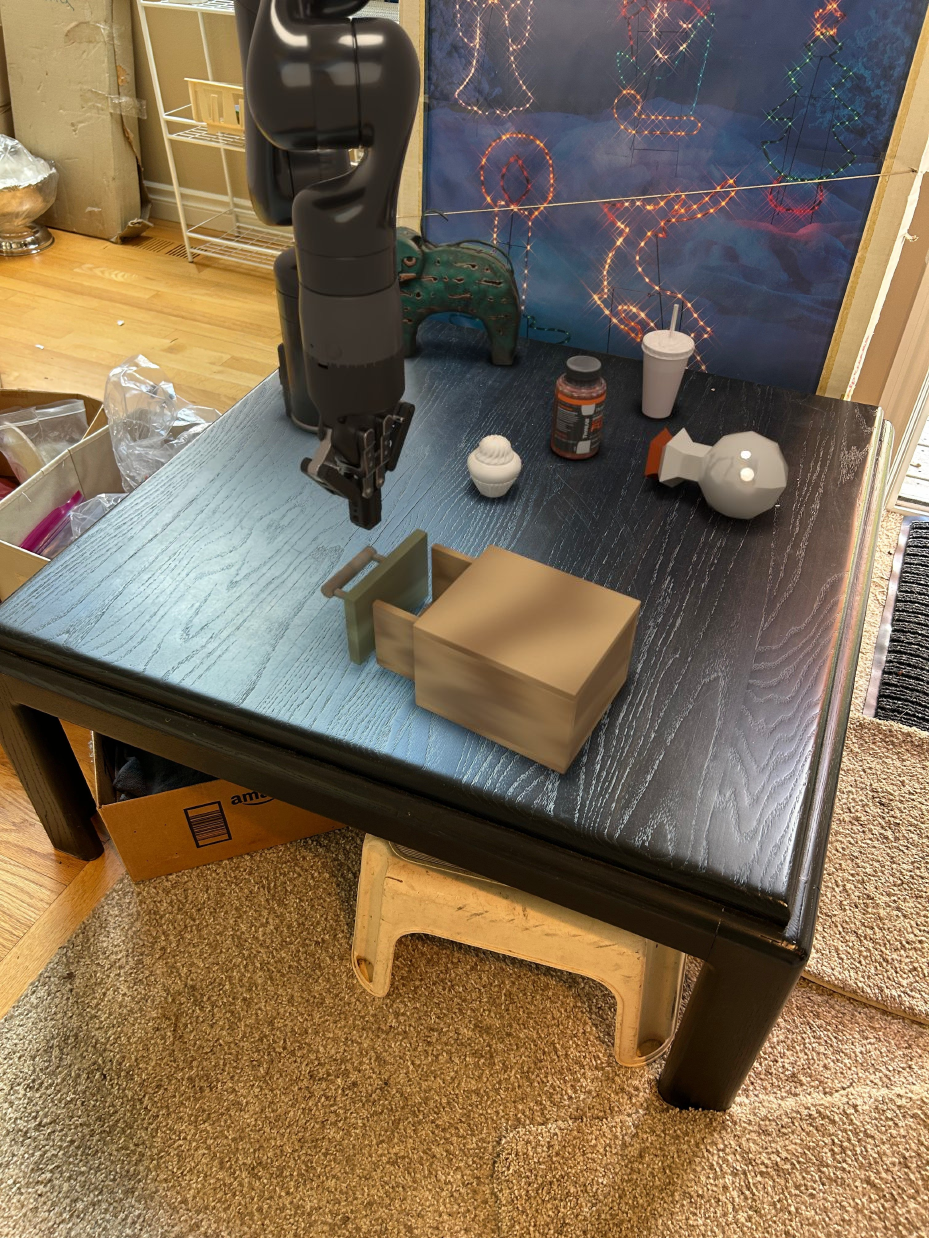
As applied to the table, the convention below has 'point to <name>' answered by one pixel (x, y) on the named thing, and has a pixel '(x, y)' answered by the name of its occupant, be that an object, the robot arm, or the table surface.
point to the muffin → (494, 466)
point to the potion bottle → (723, 470)
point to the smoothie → (664, 368)
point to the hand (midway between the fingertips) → (366, 523)
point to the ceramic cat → (458, 288)
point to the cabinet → (524, 655)
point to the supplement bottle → (578, 409)
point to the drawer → (393, 598)
